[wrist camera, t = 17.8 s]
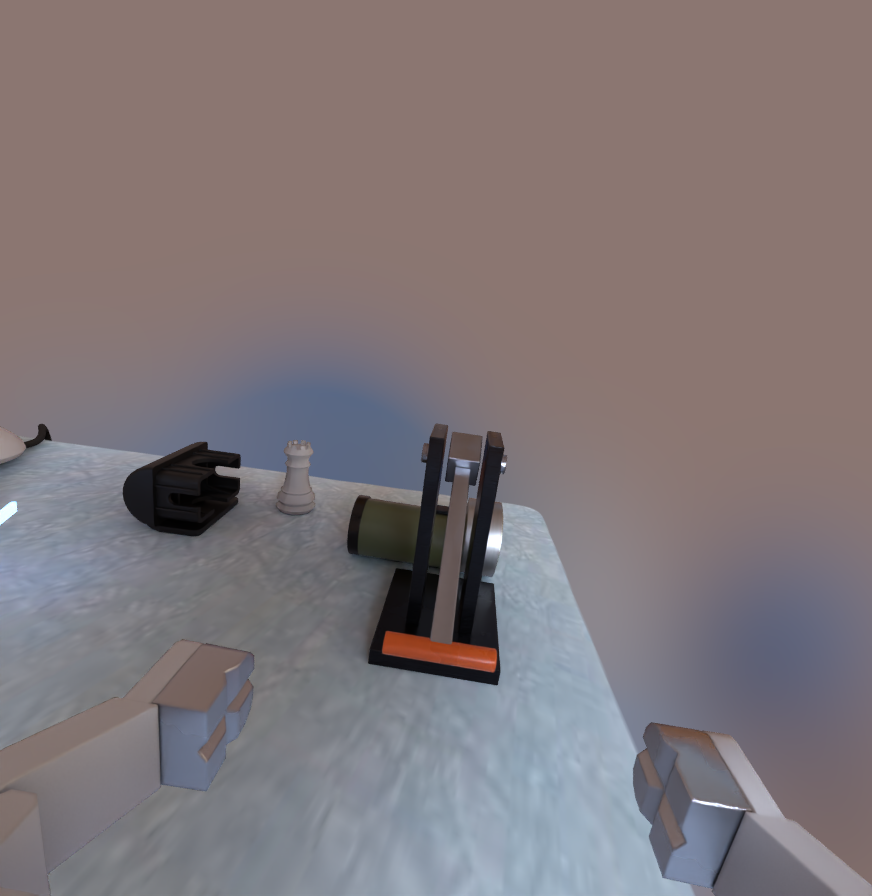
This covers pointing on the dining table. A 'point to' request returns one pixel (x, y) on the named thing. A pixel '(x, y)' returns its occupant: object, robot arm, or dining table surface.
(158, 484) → the end cap
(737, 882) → the robot arm
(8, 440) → the flower in vase
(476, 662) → the switch lever
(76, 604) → the dining table surface
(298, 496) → the rook chess piece
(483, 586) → the black lever stand
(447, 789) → the dining table surface
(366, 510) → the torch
